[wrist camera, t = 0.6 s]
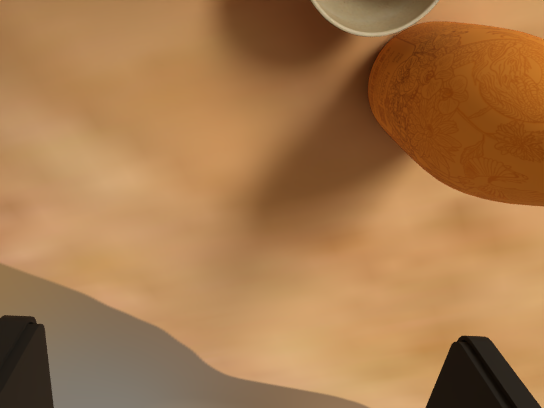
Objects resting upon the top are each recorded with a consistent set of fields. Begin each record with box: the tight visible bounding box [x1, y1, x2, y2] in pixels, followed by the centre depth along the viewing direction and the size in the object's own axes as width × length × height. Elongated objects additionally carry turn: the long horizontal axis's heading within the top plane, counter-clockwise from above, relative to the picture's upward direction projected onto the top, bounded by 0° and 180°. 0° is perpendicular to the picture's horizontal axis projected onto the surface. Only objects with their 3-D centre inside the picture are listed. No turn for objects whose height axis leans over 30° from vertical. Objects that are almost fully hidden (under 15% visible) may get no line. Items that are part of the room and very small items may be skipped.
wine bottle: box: [368, 22, 544, 206], centre depth 23 cm, size 10×10×30 cm
